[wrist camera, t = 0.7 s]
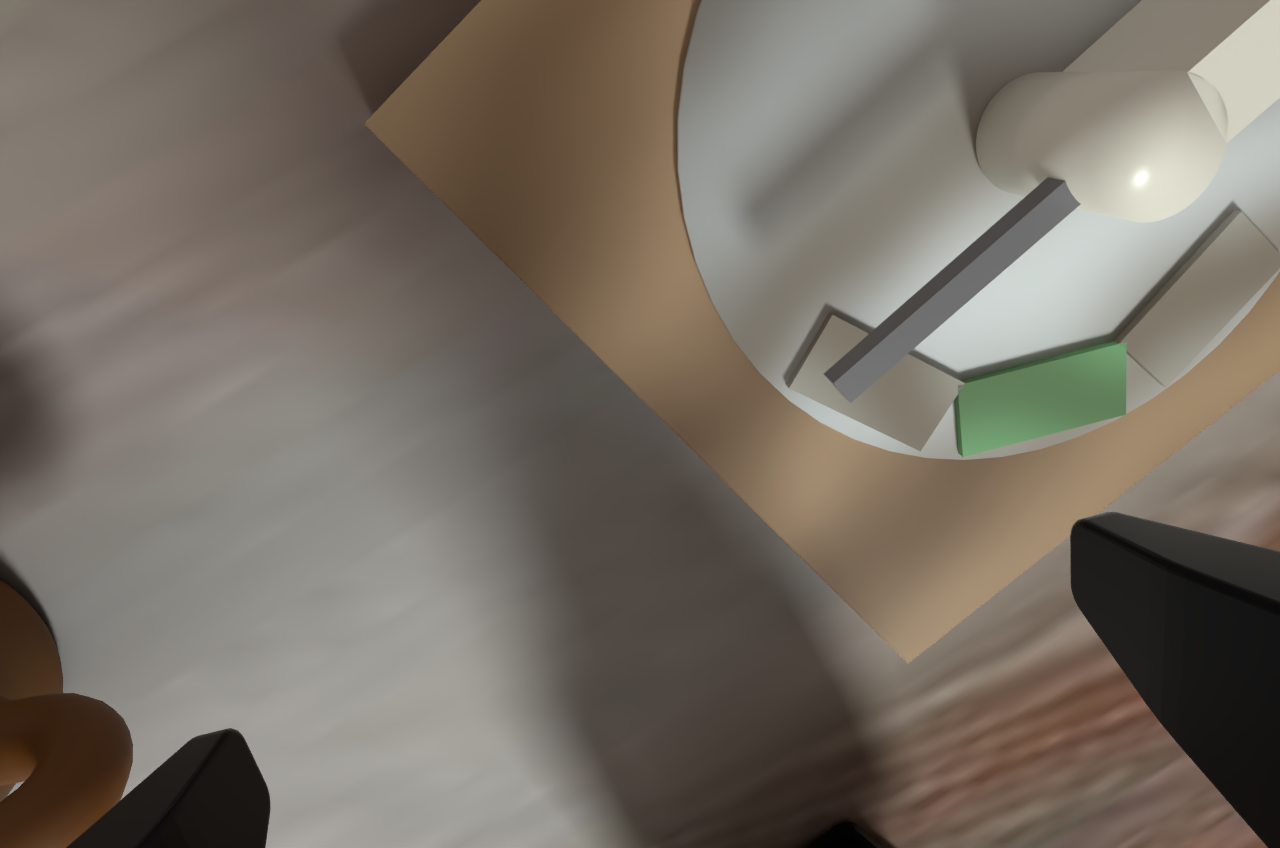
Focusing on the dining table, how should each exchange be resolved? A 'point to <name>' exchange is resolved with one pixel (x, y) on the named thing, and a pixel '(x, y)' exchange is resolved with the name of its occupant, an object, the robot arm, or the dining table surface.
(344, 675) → the dining table surface
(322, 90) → the dining table surface
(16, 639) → the mug
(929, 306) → the dial pointer lever
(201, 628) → the dining table surface
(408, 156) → the tuner board
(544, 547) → the dining table surface
